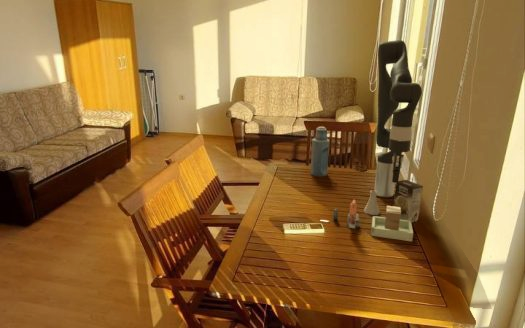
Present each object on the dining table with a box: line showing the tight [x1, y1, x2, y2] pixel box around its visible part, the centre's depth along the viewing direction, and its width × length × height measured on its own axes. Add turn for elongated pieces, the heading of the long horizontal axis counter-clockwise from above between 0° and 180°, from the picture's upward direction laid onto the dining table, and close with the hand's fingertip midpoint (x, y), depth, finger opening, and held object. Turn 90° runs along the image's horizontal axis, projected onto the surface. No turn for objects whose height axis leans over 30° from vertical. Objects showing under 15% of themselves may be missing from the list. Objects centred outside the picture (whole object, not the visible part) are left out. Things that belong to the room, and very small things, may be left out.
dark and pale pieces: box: [319, 208, 360, 229], centre depth 152 cm, size 6×16×5 cm, turn 72°
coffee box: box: [393, 179, 424, 223], centre depth 156 cm, size 9×6×16 cm
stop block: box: [385, 205, 401, 230], centre depth 144 cm, size 5×5×9 cm
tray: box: [370, 215, 414, 242], centre depth 145 cm, size 12×15×3 cm
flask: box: [363, 190, 381, 216], centre depth 163 cm, size 7×7×10 cm
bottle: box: [310, 126, 330, 178], centre depth 208 cm, size 10×10×30 cm
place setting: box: [353, 158, 367, 172], centre depth 224 cm, size 18×20×6 cm
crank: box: [347, 199, 360, 229], centre depth 145 cm, size 12×4×11 cm, turn 162°
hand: (395, 182), depth 140 cm, fingers closed
